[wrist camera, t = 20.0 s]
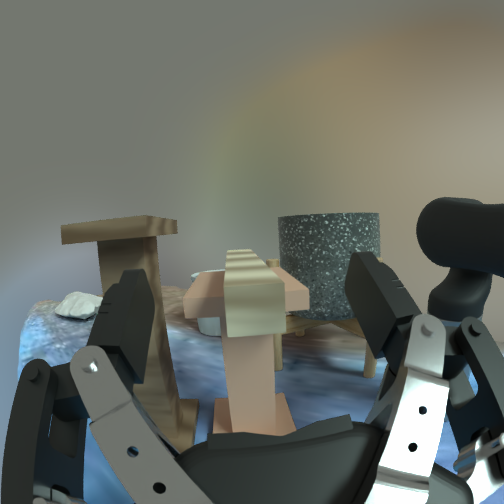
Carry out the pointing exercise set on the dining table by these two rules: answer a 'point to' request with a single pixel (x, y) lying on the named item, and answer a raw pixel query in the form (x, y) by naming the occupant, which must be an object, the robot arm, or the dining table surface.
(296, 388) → the dining table surface
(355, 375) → the dining table surface
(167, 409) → the walnut base stand
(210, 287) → the terracotta base stand
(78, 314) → the crumpled cloth
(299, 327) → the planter
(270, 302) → the beech bar
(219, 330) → the utensil holder
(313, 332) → the dining table surface
